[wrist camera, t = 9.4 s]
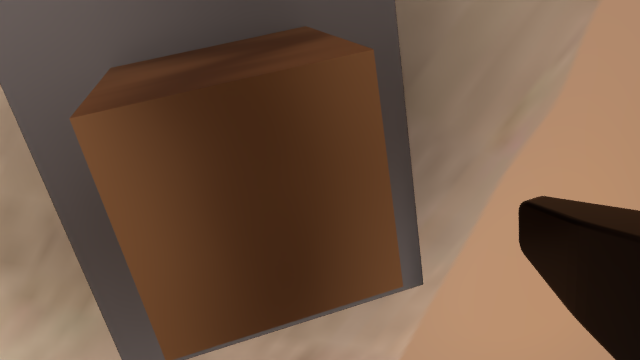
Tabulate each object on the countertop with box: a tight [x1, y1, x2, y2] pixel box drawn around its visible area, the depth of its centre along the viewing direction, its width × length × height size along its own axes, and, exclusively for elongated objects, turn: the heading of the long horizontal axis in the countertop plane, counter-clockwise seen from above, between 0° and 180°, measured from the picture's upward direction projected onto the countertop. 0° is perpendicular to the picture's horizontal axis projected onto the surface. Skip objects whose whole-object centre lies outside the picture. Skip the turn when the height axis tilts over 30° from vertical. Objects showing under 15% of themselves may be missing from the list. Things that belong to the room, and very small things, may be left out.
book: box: [0, 0, 423, 360], centre depth 18 cm, size 12×16×4 cm
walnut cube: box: [69, 26, 403, 360], centre depth 13 cm, size 6×6×6 cm
